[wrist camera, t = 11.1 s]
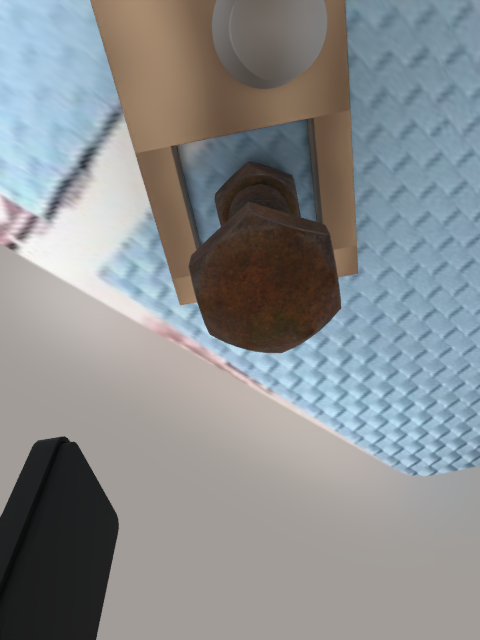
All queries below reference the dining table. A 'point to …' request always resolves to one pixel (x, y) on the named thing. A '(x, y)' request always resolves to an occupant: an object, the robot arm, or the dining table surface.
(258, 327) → the bolt
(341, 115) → the wooden peg holder
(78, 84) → the dining table surface
